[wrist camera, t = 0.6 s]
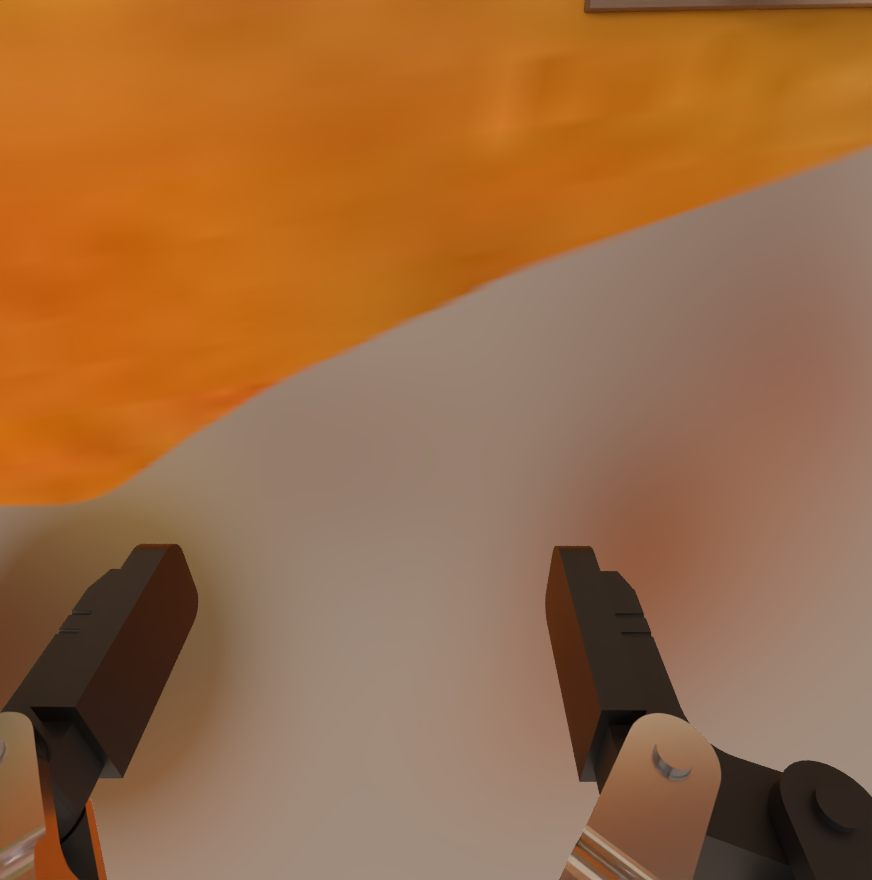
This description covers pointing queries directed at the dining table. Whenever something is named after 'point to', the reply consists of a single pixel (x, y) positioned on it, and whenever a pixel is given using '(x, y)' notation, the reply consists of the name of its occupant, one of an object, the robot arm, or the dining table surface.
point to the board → (714, 4)
